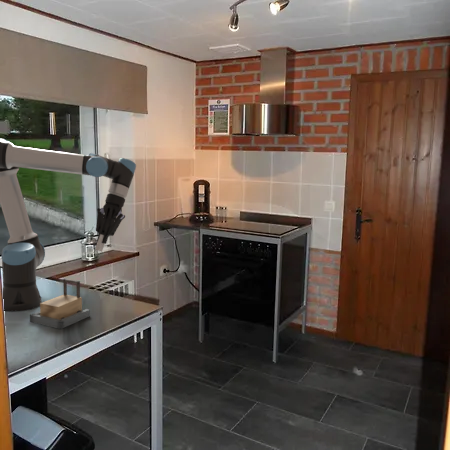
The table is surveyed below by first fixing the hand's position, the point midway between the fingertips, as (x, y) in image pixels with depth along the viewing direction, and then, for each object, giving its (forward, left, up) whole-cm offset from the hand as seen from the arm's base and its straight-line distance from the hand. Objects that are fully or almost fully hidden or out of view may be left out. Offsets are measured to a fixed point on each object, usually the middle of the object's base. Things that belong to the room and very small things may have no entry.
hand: (98, 250), depth 184 cm
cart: (+4, -25, -20) cm, 32 cm away
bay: (+4, -24, -20) cm, 32 cm away
